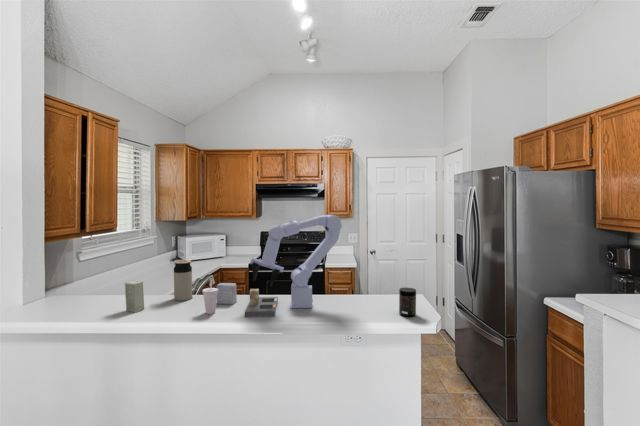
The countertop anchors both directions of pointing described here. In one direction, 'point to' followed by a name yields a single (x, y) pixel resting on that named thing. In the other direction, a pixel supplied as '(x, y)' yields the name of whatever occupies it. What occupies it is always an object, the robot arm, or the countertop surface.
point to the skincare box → (134, 296)
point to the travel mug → (182, 280)
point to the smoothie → (210, 298)
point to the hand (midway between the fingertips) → (262, 283)
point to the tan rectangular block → (254, 296)
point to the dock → (262, 307)
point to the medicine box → (226, 293)
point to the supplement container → (407, 302)
